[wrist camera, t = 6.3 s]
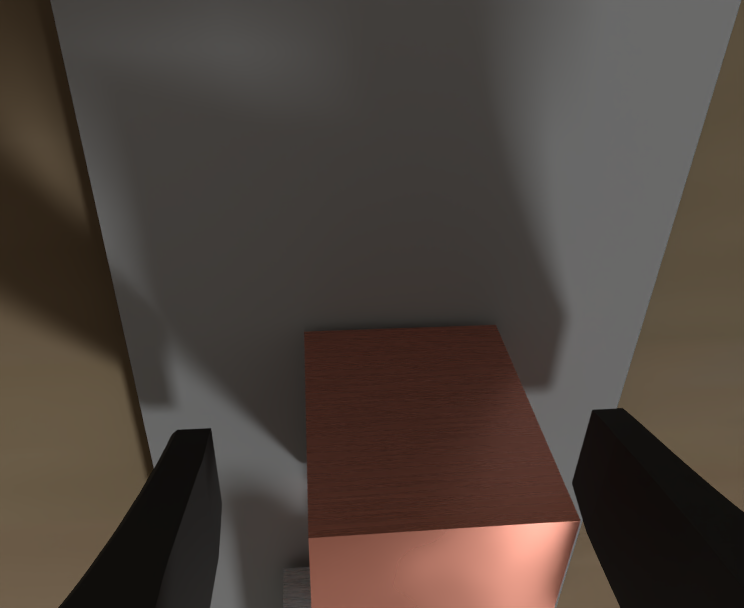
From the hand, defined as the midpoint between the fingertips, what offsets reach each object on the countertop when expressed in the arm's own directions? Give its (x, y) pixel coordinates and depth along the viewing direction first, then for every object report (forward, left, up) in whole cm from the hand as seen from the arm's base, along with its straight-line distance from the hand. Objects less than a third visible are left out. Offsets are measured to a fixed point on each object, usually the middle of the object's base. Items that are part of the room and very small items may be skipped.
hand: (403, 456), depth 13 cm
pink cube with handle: (-3, +2, -1) cm, 4 cm away
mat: (0, 0, -2) cm, 2 cm away
